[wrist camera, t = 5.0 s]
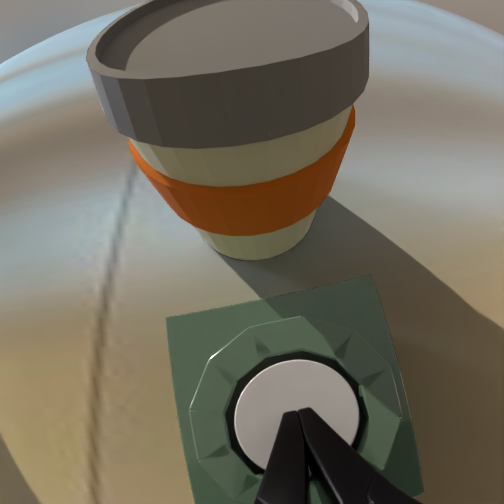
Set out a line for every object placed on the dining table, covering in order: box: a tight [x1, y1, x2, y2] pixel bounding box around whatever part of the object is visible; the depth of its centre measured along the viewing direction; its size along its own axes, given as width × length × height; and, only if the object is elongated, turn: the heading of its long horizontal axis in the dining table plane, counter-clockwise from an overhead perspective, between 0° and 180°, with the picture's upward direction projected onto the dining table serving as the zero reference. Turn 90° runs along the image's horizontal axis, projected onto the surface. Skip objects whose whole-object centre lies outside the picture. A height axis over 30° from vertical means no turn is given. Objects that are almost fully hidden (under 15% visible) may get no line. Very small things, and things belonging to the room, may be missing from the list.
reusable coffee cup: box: [86, 0, 369, 260], centre depth 17 cm, size 13×13×15 cm
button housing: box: [166, 275, 424, 504], centre depth 13 cm, size 10×9×9 cm
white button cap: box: [234, 360, 359, 476], centre depth 10 cm, size 4×4×2 cm
